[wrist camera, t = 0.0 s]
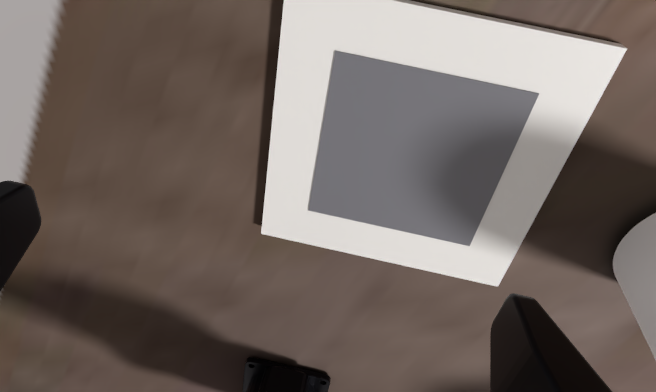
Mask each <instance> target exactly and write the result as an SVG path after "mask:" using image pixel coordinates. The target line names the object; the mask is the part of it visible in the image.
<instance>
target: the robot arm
mask: <svg viewBox="0 0 656 392" xmlns="http://www.w3.org/2000/svg"><path fill="white" fill-rule="evenodd" d="M40 226H41V216H40V212H39V208H38V205H37V201H36V197H35V193H34V190H33V189H32V188H31V186H29V185H27V184H23V183H18V182H14V181H3V182H0V291H1V289H2V288H3V287H4V285H5V283H6V282H7V280H8V279H9V277H10V275H11V274H12V272H13V271H14V269H15V268H16V266H17V264H18V263H19V261H20V260H21V258H22V257H23V255H24V253H25V252H26V250H27V249H28V247H29V245H30V244H31V242H32V241H33V239H34V238H35V236H36V234H37V233H38V231H39V229H40ZM330 380H331V379H330V377H329V376H328V375H326V374H322V373H318V372H313V371H309V370H305V369H300V368H296V367H292V366H287V365H283V364H279V363H274V362H270V361H266V360H261V359H257V358H252V357H250V358H248V359H247V361H246V363H245V371H244V383H243V392H328V389H329V385H330ZM490 392H612V391H611V390H610V388H609V387H608V386H607V385H606V384H605V382H604V381H603V380H602V379H601V378H600V376H599V375H598V374H597V373H596V372H595V370H594V369H593V368H592V367H591V366H590V364H589V363H588V362H587V361H586V360H585V358H584V357H583V356H582V355H581V354H580V352H579V351H578V350H577V349H576V348H575V346H574V345H573V344H572V343H571V342H570V340H569V339H568V338H567V337H566V336H565V334H564V333H563V332H562V331H561V330H560V328H559V327H558V326H557V325H556V324H555V322H554V321H553V320H552V319H551V318H550V316H549V315H548V314H547V313H546V312H545V310H544V309H543V308H542V307H541V305H540V304H539V303H538V302H537V301H536V300H535V299H534V298H531V297H528V296H523V295H519V294H510V295H509V296H508V297H507V298H506V300H505V302H504V303H503V305H502V307H501V309H500V310H499V312H498V314H497V316H496V317H495V319H494V321H493V324H492V327H491V364H490Z"/></svg>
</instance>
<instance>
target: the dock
mask: <svg viewBox="0 0 656 392" xmlns="http://www.w3.org/2000/svg"><path fill="white" fill-rule="evenodd" d="M626 50H627V48H626V47H625V46H624V45H622V44H619V43H614V42H610V41H605V40H600V39H595V38H590V37H585V36H581V35H576V34H571V33H566V32H561V31H556V30H551V29H547V28H542V27H537V26H532V25H527V24H522V23H517V22H513V21H508V20H503V19H498V18H493V17H488V16H483V15H479V14H474V13H469V12H464V11H459V10H454V9H450V8H445V7H440V6H435V5H430V4H425V3H420V2H416V1H411V0H284V3H283V13H282V24H281V34H280V44H279V54H278V65H277V75H276V85H275V96H274V106H273V116H272V127H271V137H270V147H269V158H268V168H267V178H266V188H265V199H264V209H263V219H262V230H261V234H265V235H269V236H274V237H278V238H283V239H287V240H292V241H296V242H301V243H305V244H309V245H314V246H318V247H323V248H327V249H332V250H336V251H341V252H345V253H350V254H354V255H359V256H363V257H368V258H372V259H377V260H381V261H385V262H390V263H394V264H399V265H403V266H408V267H412V268H417V269H421V270H426V271H430V272H435V273H439V274H444V275H448V276H453V277H457V278H461V279H466V280H470V281H475V282H479V283H484V284H488V285H493V286H497V287H498V285H499V284H500V282H501V280H502V278H503V276H504V274H505V273H506V271H507V269H508V267H509V265H510V263H511V261H512V260H513V258H514V256H515V254H516V252H517V250H518V249H519V247H520V245H521V243H522V241H523V239H524V238H525V236H526V234H527V232H528V230H529V228H530V227H531V225H532V223H533V221H534V219H535V217H536V215H537V214H538V212H539V210H540V208H541V206H542V204H543V203H544V201H545V199H546V197H547V195H548V193H549V192H550V190H551V188H552V186H553V184H554V182H555V180H556V179H557V177H558V175H559V173H560V171H561V169H562V168H563V166H564V164H565V162H566V160H567V158H568V157H569V155H570V153H571V151H572V149H573V147H574V146H575V144H576V142H577V140H578V138H579V136H580V134H581V133H582V131H583V129H584V127H585V125H586V123H587V122H588V120H589V118H590V116H591V114H592V112H593V111H594V109H595V107H596V105H597V103H598V101H599V100H600V98H601V96H602V94H603V92H604V90H605V88H606V87H607V85H608V83H609V81H610V79H611V77H612V76H613V74H614V72H615V70H616V68H617V66H618V65H619V63H620V61H621V59H622V57H623V55H624V54H625V52H626Z"/></svg>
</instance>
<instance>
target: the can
mask: <svg viewBox="0 0 656 392" xmlns="http://www.w3.org/2000/svg"><path fill="white" fill-rule="evenodd" d="M613 271H614V275H615V277H616V279H617V281H618V283H619V285H620V287H621V289H622V292H623V294H624V296H625V298H626V300H627V302H628V304H629V306H630V308H631V310H632V312H633V314H634V316H635V319H636V321H637V323H638V325H639V327H640V329H641V331H642V333H643V335H644V337H645V339H646V341H647V343H648V345H649V348H650V350H651V352H652V354H653V356H654V358H655V360H656V213H654V214H652V215H651V216H649V217H647V218H645V219H644V220H643V221H641V222H640V223H638V224H637V225H636V226H635V227H633V228H632V229H631V230H630V231H629V232H628V233H627V234H626V235H625V236H624V238H623V239H622V240H621V242H620V243H619V245H618V247H617V249H616V251H615V254H614V258H613Z"/></svg>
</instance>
